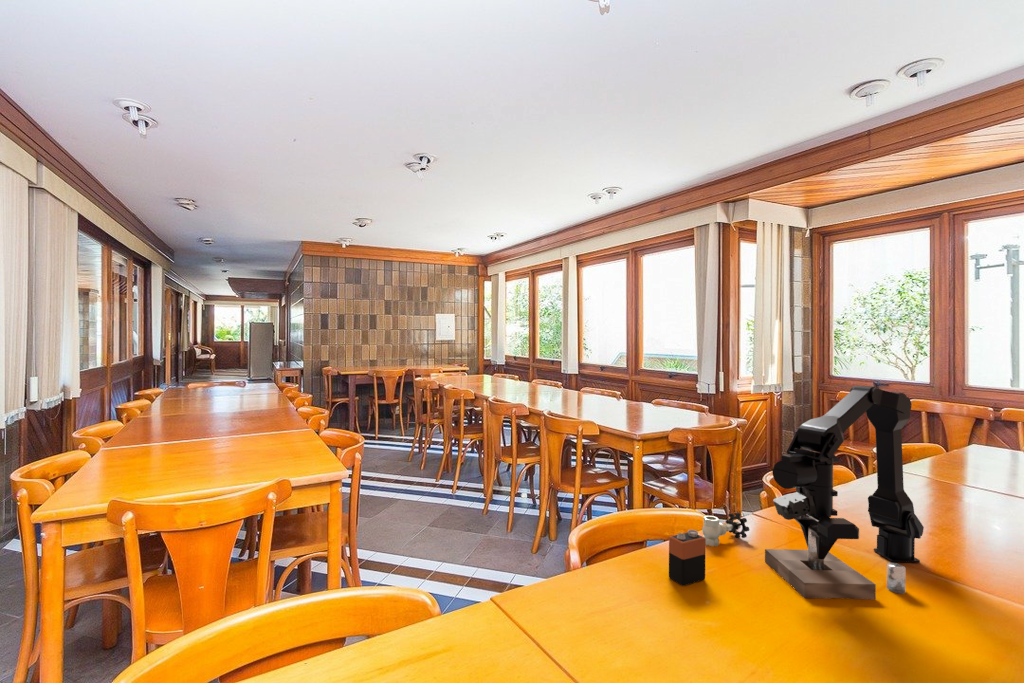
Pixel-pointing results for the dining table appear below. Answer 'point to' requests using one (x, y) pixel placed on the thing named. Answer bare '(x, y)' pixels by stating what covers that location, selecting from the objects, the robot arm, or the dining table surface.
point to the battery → (687, 557)
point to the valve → (722, 528)
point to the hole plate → (820, 576)
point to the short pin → (896, 578)
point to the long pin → (813, 552)
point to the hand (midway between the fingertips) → (816, 555)
